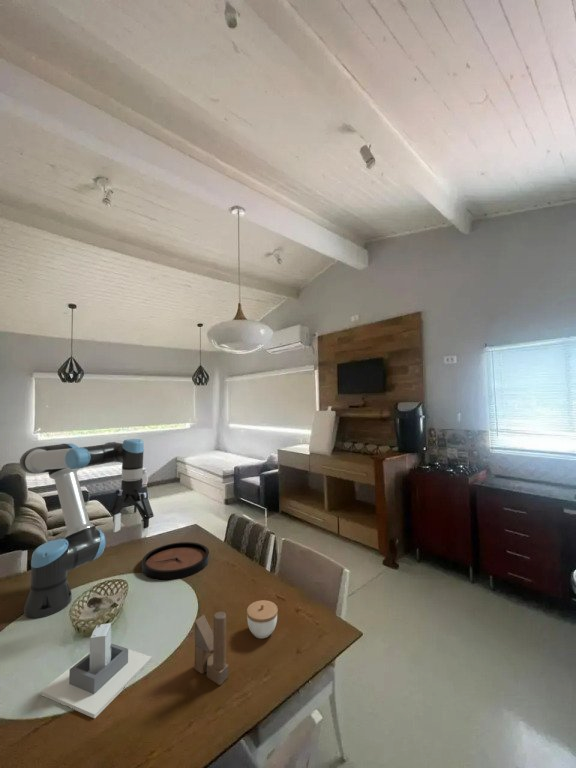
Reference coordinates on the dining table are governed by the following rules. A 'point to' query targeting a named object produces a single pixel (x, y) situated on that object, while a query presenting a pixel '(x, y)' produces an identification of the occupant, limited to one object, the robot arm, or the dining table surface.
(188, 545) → the wall clock
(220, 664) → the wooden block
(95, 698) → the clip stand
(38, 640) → the dining table surface
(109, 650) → the skincare box
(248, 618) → the lidded jar
